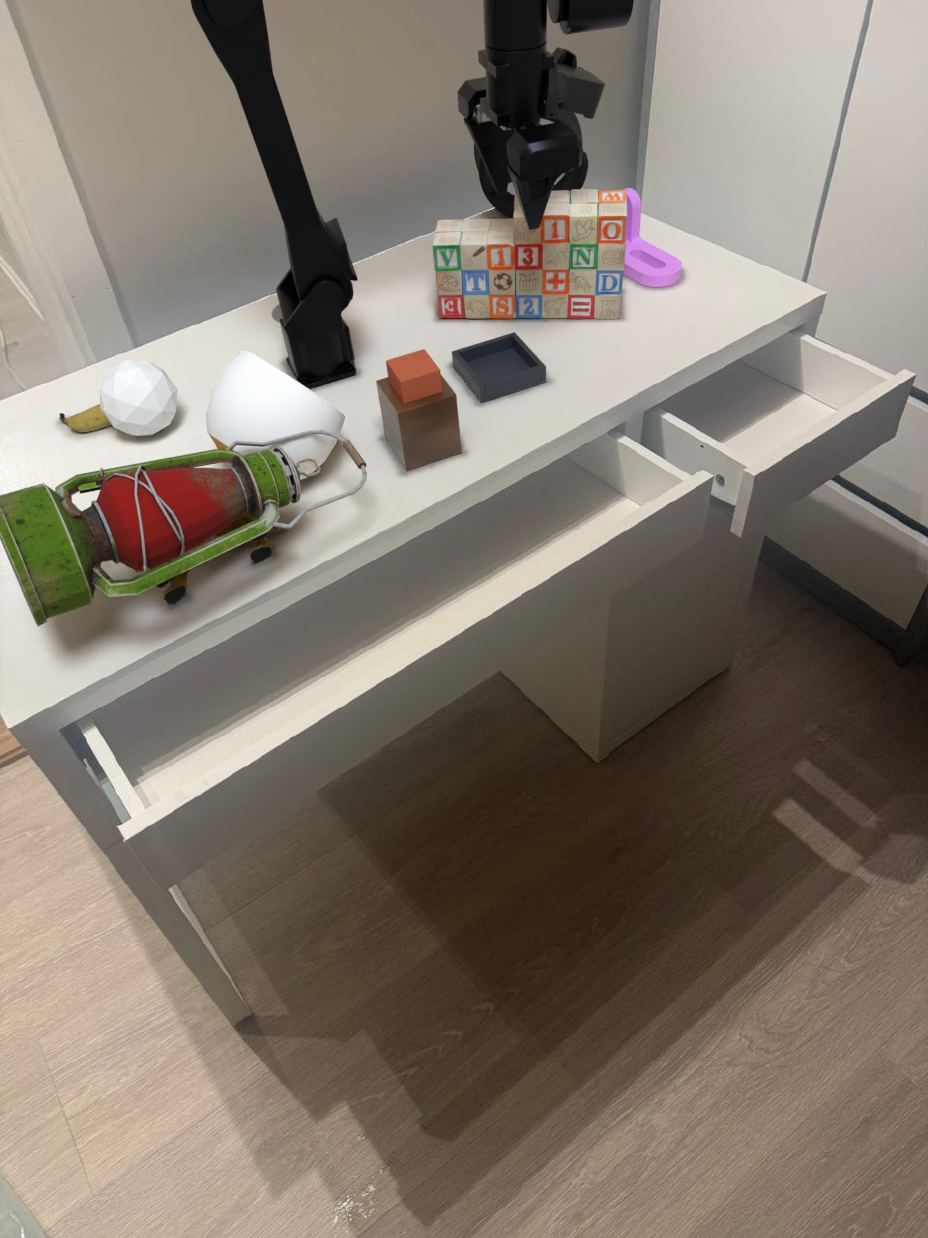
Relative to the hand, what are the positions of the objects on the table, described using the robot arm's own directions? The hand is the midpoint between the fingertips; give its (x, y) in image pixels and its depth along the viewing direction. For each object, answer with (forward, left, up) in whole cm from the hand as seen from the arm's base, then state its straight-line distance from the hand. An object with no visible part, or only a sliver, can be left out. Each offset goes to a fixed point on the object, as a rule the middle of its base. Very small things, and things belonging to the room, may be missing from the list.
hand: (517, 209), depth 96 cm
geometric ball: (-43, +2, -14) cm, 45 cm away
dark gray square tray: (-6, -7, -14) cm, 17 cm away
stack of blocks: (+3, +4, -14) cm, 15 cm away
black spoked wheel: (+11, +19, -7) cm, 23 cm away
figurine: (-42, -25, -12) cm, 50 cm away
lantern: (-56, -26, -3) cm, 62 cm away
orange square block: (-18, -15, -7) cm, 24 cm away
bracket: (+19, +6, -14) cm, 24 cm away
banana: (-47, +4, -12) cm, 49 cm away
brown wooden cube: (-18, -15, -14) cm, 27 cm away
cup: (-36, -14, -11) cm, 40 cm away
